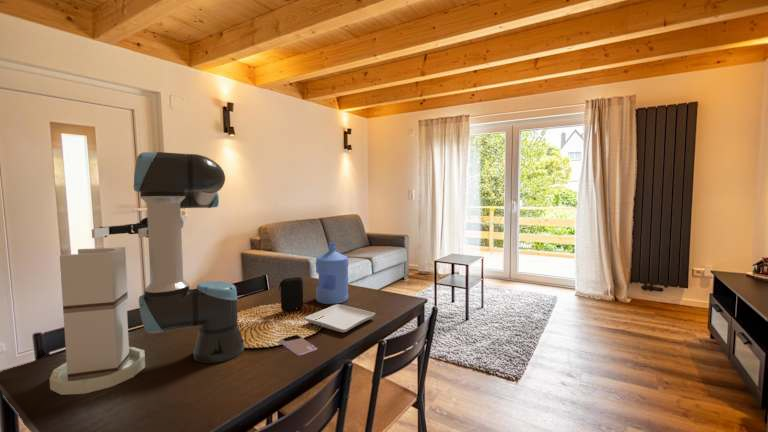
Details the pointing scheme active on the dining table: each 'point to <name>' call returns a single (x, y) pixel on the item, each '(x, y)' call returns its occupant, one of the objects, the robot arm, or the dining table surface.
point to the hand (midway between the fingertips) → (116, 233)
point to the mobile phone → (297, 345)
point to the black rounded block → (291, 294)
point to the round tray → (65, 387)
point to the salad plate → (340, 317)
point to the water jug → (332, 277)
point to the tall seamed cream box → (95, 312)
